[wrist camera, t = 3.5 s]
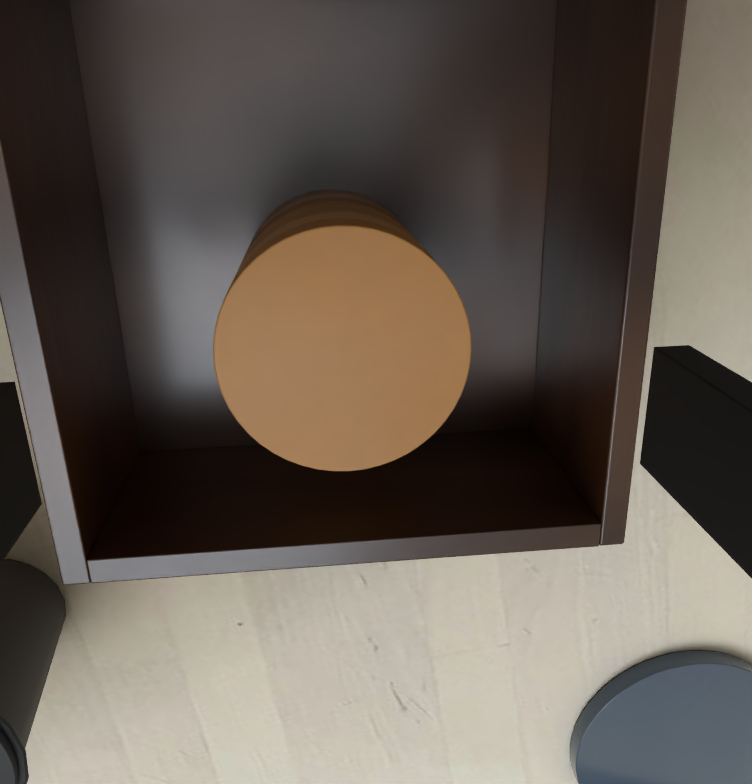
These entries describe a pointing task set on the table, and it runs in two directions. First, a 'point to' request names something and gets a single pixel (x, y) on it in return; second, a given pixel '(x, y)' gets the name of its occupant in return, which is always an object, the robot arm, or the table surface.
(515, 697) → the table surface
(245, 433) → the chest
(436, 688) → the table surface
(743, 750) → the plate
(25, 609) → the coffee cup
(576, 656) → the table surface
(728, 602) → the table surface
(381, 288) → the cookies
